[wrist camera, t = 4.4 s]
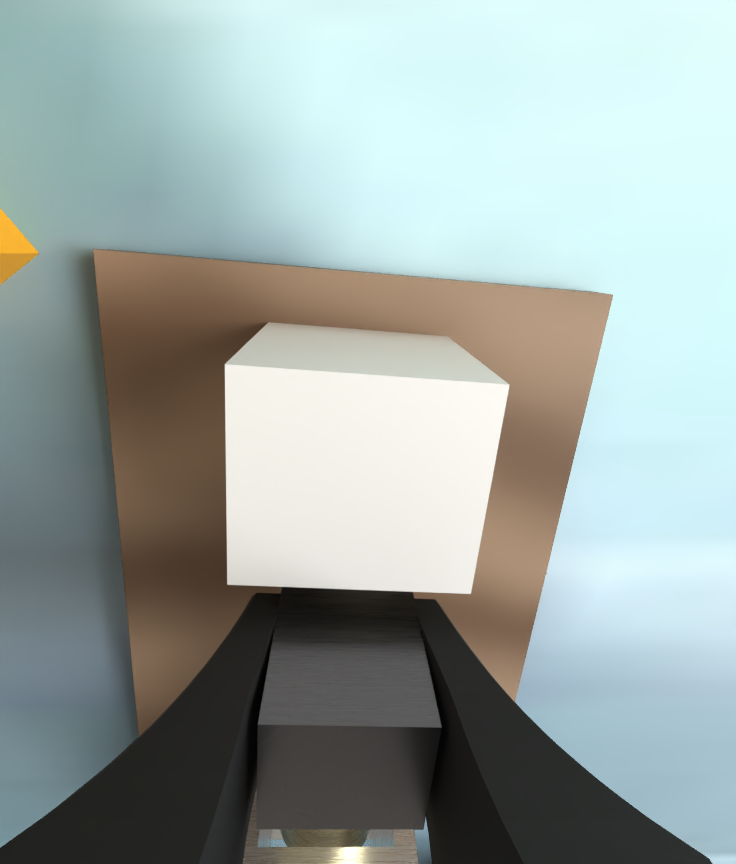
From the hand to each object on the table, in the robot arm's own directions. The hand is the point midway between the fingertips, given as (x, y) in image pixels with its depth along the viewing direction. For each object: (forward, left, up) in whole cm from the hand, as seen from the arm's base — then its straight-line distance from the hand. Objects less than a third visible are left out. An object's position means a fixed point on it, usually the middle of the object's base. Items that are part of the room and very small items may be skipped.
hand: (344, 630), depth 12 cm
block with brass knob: (-2, 0, -3) cm, 3 cm away
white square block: (+4, 0, -4) cm, 6 cm away
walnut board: (-3, 0, -5) cm, 6 cm away
